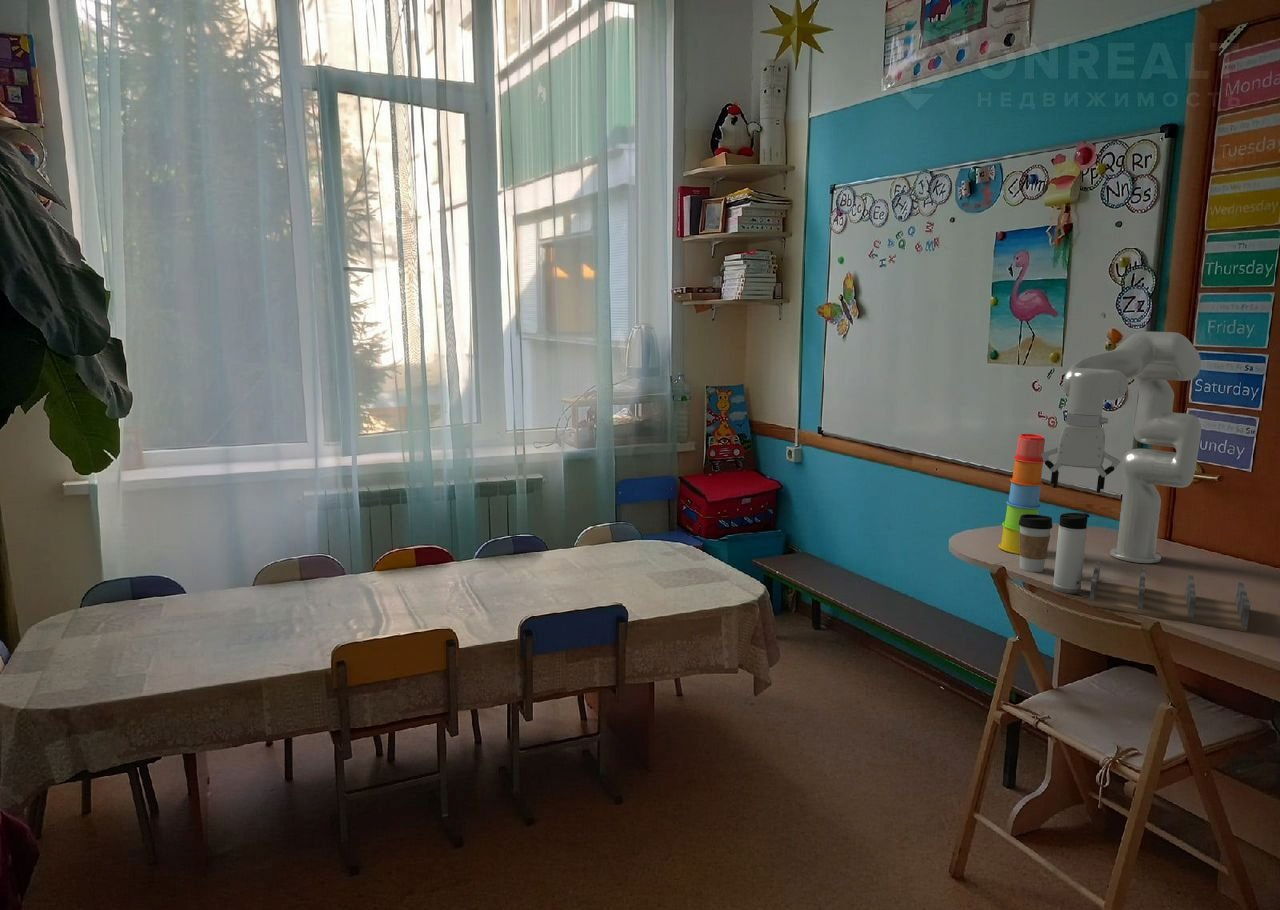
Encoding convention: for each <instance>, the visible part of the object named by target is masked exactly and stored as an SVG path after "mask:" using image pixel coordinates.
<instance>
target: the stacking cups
mask: <svg viewBox="0 0 1280 910" xmlns="http://www.w3.org/2000/svg"><path fill="white" fill-rule="evenodd" d="M1045 443H1046V440H1045V437H1044V436H1043V435H1040V434H1034V433H1021V434H1020V436H1018V440H1017V447H1016V453H1015V456H1013V459H1014V464H1013V470H1012V471H1013V473H1012V477H1011V478H1009V481H1010V482H1011V483H1010V489H1009V495H1008V500H1006V502H1005V503H1006V504H1007V506H1006V514H1005V520H1004V521H1003V522H1002V524H1001V525H1002V526H1003V527H1002V528H1003V530H1002V535H1001V542H1000V543H999V544H998V548H999V549H1001V551H1005V552H1007V553H1011V554H1017V555H1020V548H1019V531H1020V525H1019V520H1020V517H1021V515H1024V514H1034V515H1039V509H1040V508H1041V504H1040V496H1041V488H1042V485H1044V484H1043V482H1042V475H1043V474H1042V473H1043V465H1044V463H1045V462H1044V460H1043V458H1042V456H1041V454H1042V453H1043V452H1045V445H1046V444H1045Z"/></svg>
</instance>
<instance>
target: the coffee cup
mask: <svg viewBox="0 0 1280 910" xmlns="http://www.w3.org/2000/svg"><path fill="white" fill-rule="evenodd" d="M1019 525H1020V531H1019V548H1020V554H1019V569H1021V570H1022V571H1024V572H1025V571H1026V572H1030V573H1031V572H1032V573H1042V572H1043V571H1044V570H1045V569H1044V568H1045V563H1046V559H1047V553H1048V549H1049V543H1050V538H1051V529H1052V528H1053V518H1052V516H1049V515H1048V516H1047V515H1042V514H1038V515H1034V514H1024V515H1021V517H1020V520H1019Z"/></svg>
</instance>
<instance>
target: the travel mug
mask: <svg viewBox="0 0 1280 910" xmlns="http://www.w3.org/2000/svg"><path fill="white" fill-rule="evenodd" d="M1088 518H1090V514H1088V513H1086V512H1084V513H1082V512H1081V513H1080V512H1066V513H1062V514H1060V516H1059V524H1058V531H1057V532H1058V533H1057V541H1056V551H1055V552H1056V553H1055V563H1054V573H1053V574H1054V575H1053V581H1052V582H1053V585H1052V588H1053V589H1054V590H1055V591H1057V592H1060V593H1064V594H1073V595H1074V594H1079V593H1080V592H1081V591H1082V590H1081V589H1082V579H1083V578H1082V577H1083V568H1084V560H1085V550H1086V549H1085V548H1086V540H1087V529H1088V527H1087V526H1088Z"/></svg>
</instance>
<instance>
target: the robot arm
mask: <svg viewBox="0 0 1280 910" xmlns="http://www.w3.org/2000/svg"><path fill="white" fill-rule="evenodd" d="M1201 363H1202V360H1201V356H1200V353H1199V352H1198V350H1197V349H1196V347H1195V346H1194V345H1193V343H1192V342H1191V341H1190V340H1189V339H1188V337H1186V336H1185V335H1183V334H1181V333H1179V332H1175V331H1174V332H1173V331H1170V332H1169V331H1137V332H1135V333H1133V334H1131V335H1130V336H1128V337H1127V338H1126V339H1125V340H1124V341H1123V342H1121V343H1120V344H1119V345H1118V346H1117V347H1115V348H1114V349H1112V350H1108V351H1103V352H1101V353H1097V354H1094V355H1090V356H1087V357H1084V358H1082V359H1080V360H1078V361H1076V362H1075V363H1074V364H1073V365H1072V366H1071V367H1069V369H1068V370H1067V371H1066V373H1065V375H1064V377H1063V380H1062V389H1063V391H1064V393H1065V394H1066V395H1067V396H1068V404H1067V415H1066V424H1063V425H1062V428H1061V431H1060V436H1059V442H1058V445H1057V447H1055V448H1052V449H1048V450H1046V451H1044V452H1043V453H1042V454H1041V456H1042V458H1043V460H1044V462H1043V463H1044V465H1045V466H1046V467H1047V468H1048V469H1049V470H1050V471H1051V475H1050V476H1051V477H1050V484H1051V485H1053V486H1052V488H1053V489H1056V488H1058V485H1059V476H1060V475H1059V473H1060V471H1059V469H1060V468H1061V467H1062V466H1063V467H1065V466H1066V467H1071V468H1073V467H1074V468H1085V469H1095V471H1097V473H1098V477H1097V482H1096V483H1097V484H1096V485H1097V486H1096V493H1097V494H1098V493H1099V494H1100V493H1101V490H1104V489H1105V480H1106V477H1107V476H1108V475H1109V474H1111V473H1112V472H1113V471H1115V469H1116V468H1117V467H1118V466H1119V464H1120V462H1121V459H1119V458H1117V457H1116V456H1114V455H1112V454H1110V453H1109V452H1107V451H1105V447H1106V445H1105V443H1106V439H1105V437H1106V435H1105V428H1104V427H1102V425H1105V424H1109V418H1107V417H1104V416H1103V408H1104V401H1115V400H1116V401H1117V400H1118V399H1121V398H1122V397H1123V396H1124V395H1125V394H1126V393H1127V390H1128V387H1129V379H1132V378H1133V380H1134V382H1135V384H1136V386H1137V390H1138V392H1137V393H1138V399H1137V407H1136V411H1135V418H1134V427H1133V437H1134V439H1135V440H1136V441H1137V442H1138V443H1141V444H1146V445H1154V446H1161V447H1169V448H1174V449H1175V452H1174V451H1165V450H1159V449H1151V448H1133V449H1130V450H1128V451H1127V452H1126V453H1125V454H1124V455H1123V457H1122V462H1121V471H1122V485H1123V486H1122V497H1121V498H1122V499H1121V504H1120V505H1121V507H1120V514H1119V515H1120V517H1119V524H1118V534H1117V535H1118V536H1117V544H1116V547H1113V548H1111V549H1110V551H1109V552H1110V553H1109V554H1110V555H1111V556H1112V557H1114V558H1116V559H1119V560H1121V561H1126V562H1131V563H1137V564H1138V563H1139V564H1156V563H1159V562H1161V561H1162V556H1161V555H1160V554H1159V553H1157V552H1156V549H1157V542H1158V541H1157V539H1158V532H1159V523H1160V515H1161V514H1160V512H1161V505H1162V498H1161V494H1160V492H1159V491H1158V490H1157V489H1158V488H1156V485H1158V486H1164V487H1170V488H1171V487H1172V488H1187V487H1188V486H1190V485H1191V483H1192V482H1193V481H1194V478H1195V474H1196V467H1197V463H1198V462H1197V461H1198V454H1199V450H1200V442H1201V437H1202V436H1201V435H1202V424H1201V421H1200V419H1199V418H1198V416H1196V415H1194V414H1191V413H1185V412H1183V413H1182V412H1173V407H1174V399H1175V392H1174V390H1173V388H1172V387H1171V384H1170V383H1169V382H1168V381H1180V382H1182V381H1183V382H1184V381H1185V382H1187V381H1191V380H1193V379H1195V378H1196V377H1197V376H1198V374H1199V373H1200V370H1201V366H1202V364H1201ZM1055 454H1056V463H1055V464H1054V463H1053V462H1052V461H1051V460H1050V456H1052V455H1053V456H1054V455H1055ZM1104 458H1105V459H1106V460H1108V461H1110V462H1111V464H1110V465H1109V466H1108V467H1107V468H1104V467H1103V466H1102V465H1103V464H1104Z"/></svg>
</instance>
